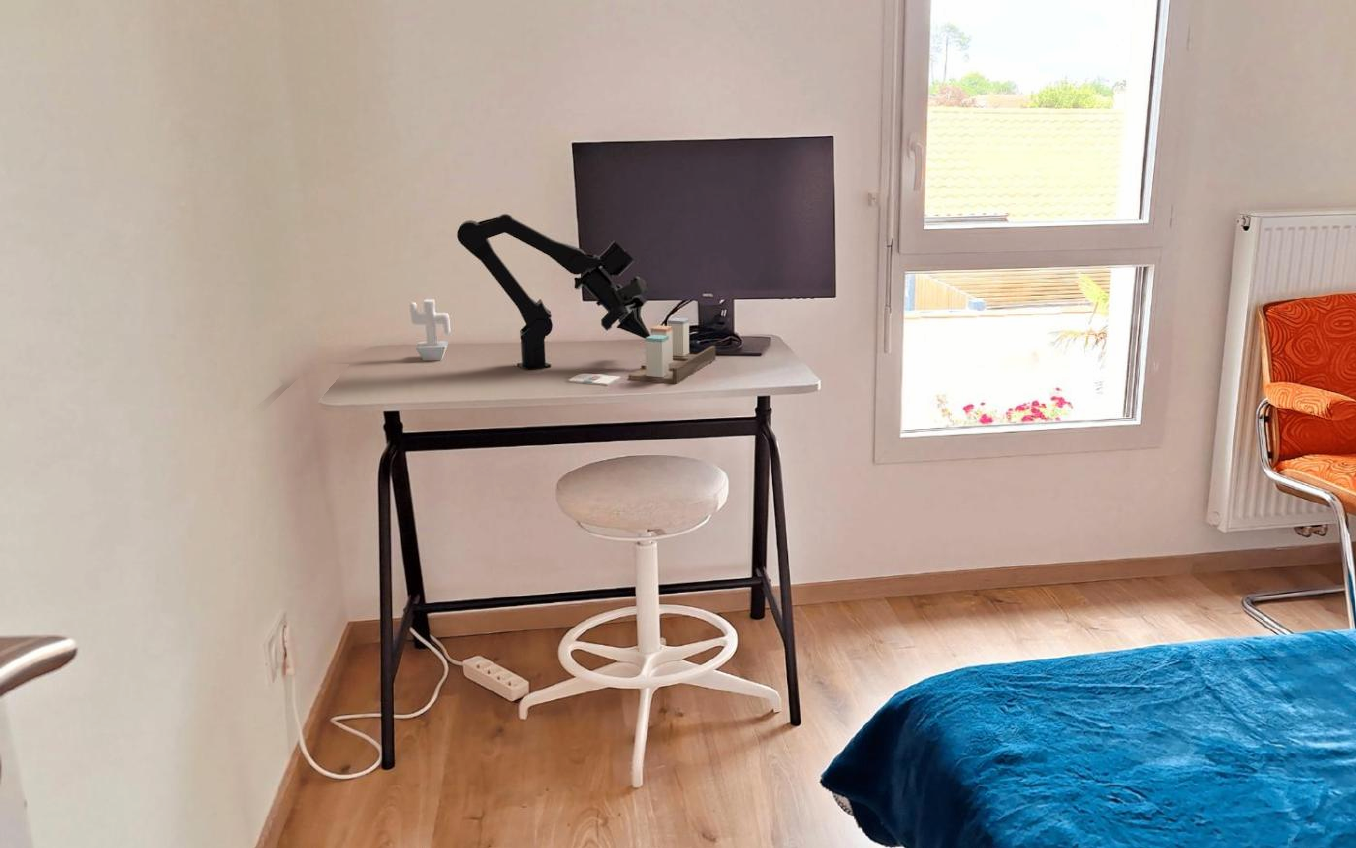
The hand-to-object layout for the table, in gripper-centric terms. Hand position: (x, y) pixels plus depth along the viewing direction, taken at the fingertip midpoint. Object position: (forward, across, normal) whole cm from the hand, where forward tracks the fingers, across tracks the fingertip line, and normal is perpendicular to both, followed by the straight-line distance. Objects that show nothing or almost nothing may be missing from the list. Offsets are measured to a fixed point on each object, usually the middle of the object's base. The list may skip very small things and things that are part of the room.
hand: (648, 337), depth 235 cm
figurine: (-34, -5, +45) cm, 57 cm away
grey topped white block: (+7, +10, +1) cm, 13 cm away
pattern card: (-1, -16, +11) cm, 19 cm away
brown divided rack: (+10, -1, +1) cm, 10 cm away
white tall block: (+8, -12, 0) cm, 15 cm away
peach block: (+7, 0, +2) cm, 7 cm away
